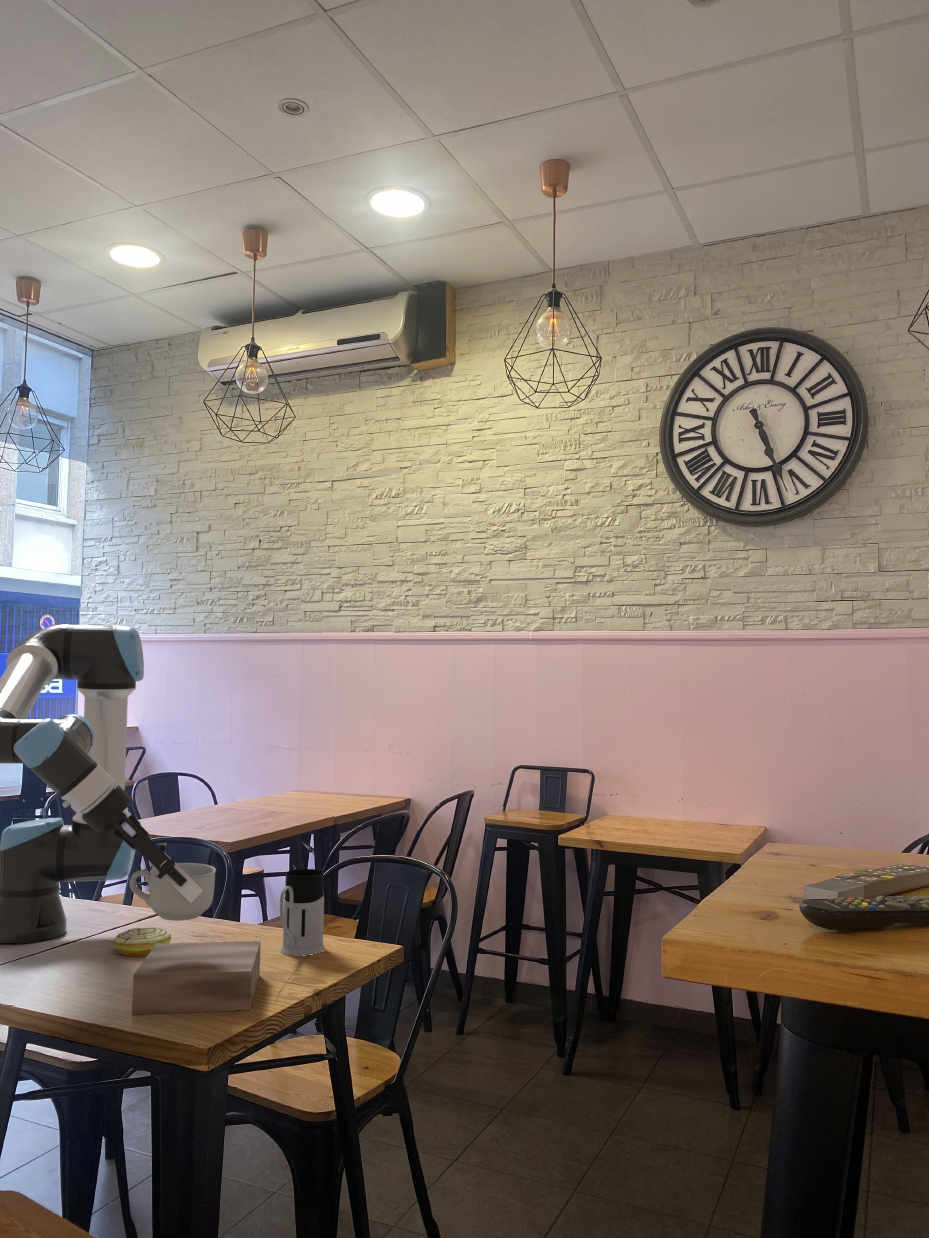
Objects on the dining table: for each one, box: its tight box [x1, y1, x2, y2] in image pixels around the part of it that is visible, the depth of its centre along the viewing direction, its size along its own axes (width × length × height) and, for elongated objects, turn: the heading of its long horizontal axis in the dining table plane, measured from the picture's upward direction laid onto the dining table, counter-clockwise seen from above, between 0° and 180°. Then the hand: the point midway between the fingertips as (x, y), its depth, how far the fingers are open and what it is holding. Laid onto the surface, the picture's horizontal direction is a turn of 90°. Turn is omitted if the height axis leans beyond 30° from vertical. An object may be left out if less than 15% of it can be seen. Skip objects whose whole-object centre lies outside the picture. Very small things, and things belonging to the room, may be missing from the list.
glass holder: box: [279, 868, 326, 957], centre depth 172 cm, size 9×14×15 cm, turn 164°
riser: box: [131, 940, 261, 1016], centre depth 147 cm, size 18×18×6 cm
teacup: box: [129, 862, 217, 922], centre depth 149 cm, size 14×11×8 cm
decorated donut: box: [113, 927, 172, 957], centre depth 173 cm, size 10×11×4 cm
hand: (190, 889), depth 149 cm, fingers closed on teacup, 11 cm apart
